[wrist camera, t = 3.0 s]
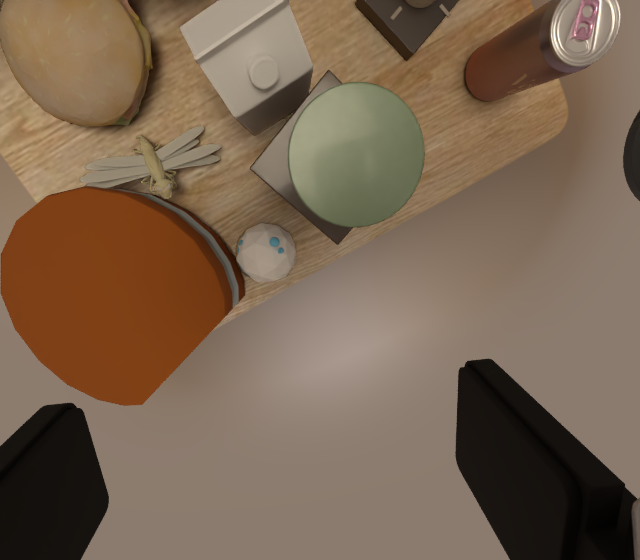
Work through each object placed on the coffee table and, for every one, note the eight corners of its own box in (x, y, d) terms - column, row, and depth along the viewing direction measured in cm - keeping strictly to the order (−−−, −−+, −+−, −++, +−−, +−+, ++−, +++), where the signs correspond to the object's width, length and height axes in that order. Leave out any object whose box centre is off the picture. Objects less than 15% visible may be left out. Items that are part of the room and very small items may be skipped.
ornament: (275, 235, 49) (320, 237, 44) (259, 286, 48) (302, 295, 42) (235, 212, 44) (280, 211, 39) (215, 269, 43) (259, 276, 38)
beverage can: (519, 48, 42) (634, -14, 28) (506, 105, 44) (608, 74, 30) (469, 40, 42) (561, -28, 27) (457, 98, 43) (538, 62, 29)
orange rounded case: (265, 272, 48) (126, 144, 45) (250, 290, 38) (71, 127, 35) (158, 387, 51) (22, 274, 48) (118, 429, 41) (-54, 291, 39)
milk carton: (219, 77, 41) (159, 2, 23) (273, 40, 41) (256, -66, 22) (254, 136, 43) (226, 111, 25) (307, 102, 42) (317, 51, 24)
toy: (209, 144, 47) (203, 108, 42) (237, 192, 43) (232, 156, 39) (82, 176, 42) (60, 138, 38) (100, 233, 38) (78, 197, 34)
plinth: (315, 107, 43) (328, 69, 26) (371, 162, 45) (416, 157, 29) (265, 169, 44) (249, 168, 28) (322, 219, 46) (337, 245, 30)
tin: (329, 95, 27) (353, 47, 16) (394, 158, 28) (453, 152, 18) (271, 167, 28) (258, 165, 17) (336, 224, 30) (360, 254, 19)
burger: (10, 58, 39) (-54, 69, 33) (60, -82, 32) (-9, -102, 26) (123, 143, 44) (86, 167, 37) (186, 37, 37) (154, 44, 31)
